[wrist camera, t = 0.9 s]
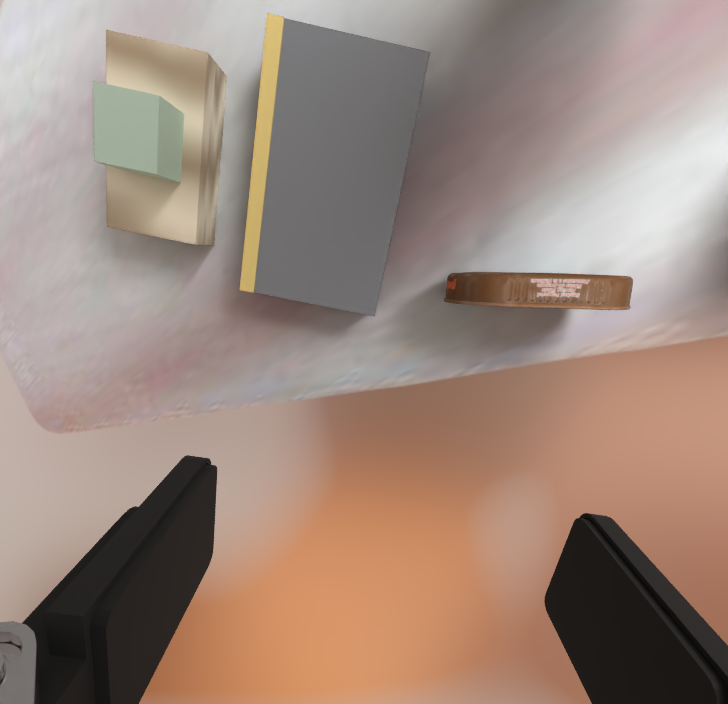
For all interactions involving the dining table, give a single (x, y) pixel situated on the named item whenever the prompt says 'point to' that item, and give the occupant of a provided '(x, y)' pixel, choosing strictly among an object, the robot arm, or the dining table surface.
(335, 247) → the dock
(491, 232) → the dining table surface
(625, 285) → the tin
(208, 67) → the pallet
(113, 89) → the box
